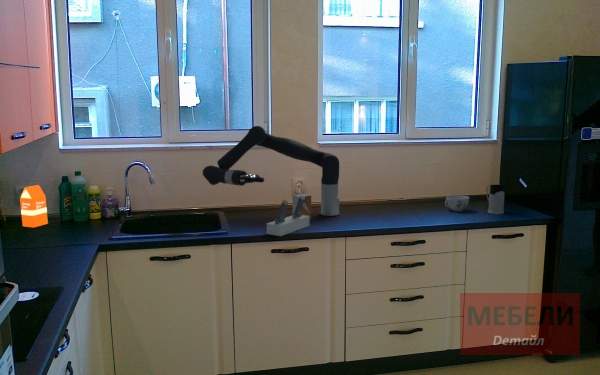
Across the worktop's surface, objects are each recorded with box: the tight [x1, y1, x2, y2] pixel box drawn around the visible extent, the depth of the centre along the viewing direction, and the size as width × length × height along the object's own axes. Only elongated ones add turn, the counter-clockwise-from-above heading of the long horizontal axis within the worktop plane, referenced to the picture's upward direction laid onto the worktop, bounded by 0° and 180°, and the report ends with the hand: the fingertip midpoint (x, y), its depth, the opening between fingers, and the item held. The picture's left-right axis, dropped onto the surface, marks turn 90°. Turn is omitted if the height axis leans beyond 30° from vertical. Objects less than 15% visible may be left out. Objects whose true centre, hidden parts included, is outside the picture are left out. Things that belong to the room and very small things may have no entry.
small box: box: [291, 193, 312, 221], centre depth 274 cm, size 8×6×13 cm
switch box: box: [266, 212, 310, 237], centre depth 253 cm, size 8×24×7 cm, turn 145°
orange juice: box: [19, 184, 49, 228], centre depth 263 cm, size 8×9×20 cm
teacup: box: [444, 194, 471, 212], centre depth 294 cm, size 15×12×8 cm
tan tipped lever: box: [276, 199, 289, 222], centre depth 245 cm, size 3×4×12 cm
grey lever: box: [294, 195, 305, 217], centre depth 256 cm, size 3×4×12 cm
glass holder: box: [485, 184, 506, 215], centre depth 292 cm, size 9×14×15 cm, turn 14°
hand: (263, 180), depth 249 cm, fingers closed
